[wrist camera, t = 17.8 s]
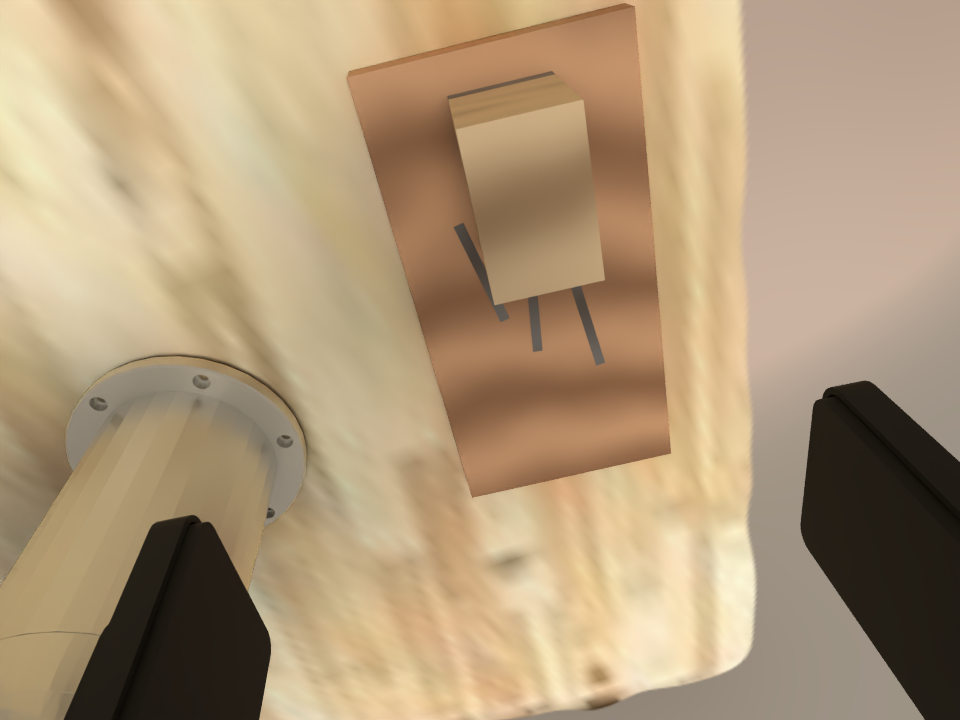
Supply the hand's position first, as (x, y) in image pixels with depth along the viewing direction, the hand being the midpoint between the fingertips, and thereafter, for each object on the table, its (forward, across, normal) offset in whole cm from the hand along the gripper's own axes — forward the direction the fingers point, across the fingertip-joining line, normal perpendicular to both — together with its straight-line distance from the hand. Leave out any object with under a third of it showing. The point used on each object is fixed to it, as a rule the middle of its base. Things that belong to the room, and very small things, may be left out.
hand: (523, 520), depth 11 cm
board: (+24, -3, +8) cm, 26 cm away
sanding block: (+23, -3, +1) cm, 23 cm away
